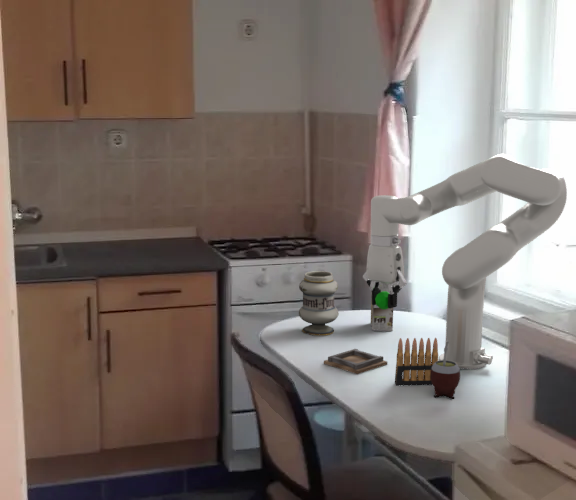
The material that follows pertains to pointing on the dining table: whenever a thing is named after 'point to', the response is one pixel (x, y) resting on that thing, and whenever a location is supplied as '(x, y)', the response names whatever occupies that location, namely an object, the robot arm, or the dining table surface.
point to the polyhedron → (382, 300)
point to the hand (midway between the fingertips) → (384, 305)
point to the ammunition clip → (415, 363)
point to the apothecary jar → (318, 302)
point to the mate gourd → (445, 377)
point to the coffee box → (381, 314)
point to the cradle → (355, 361)
